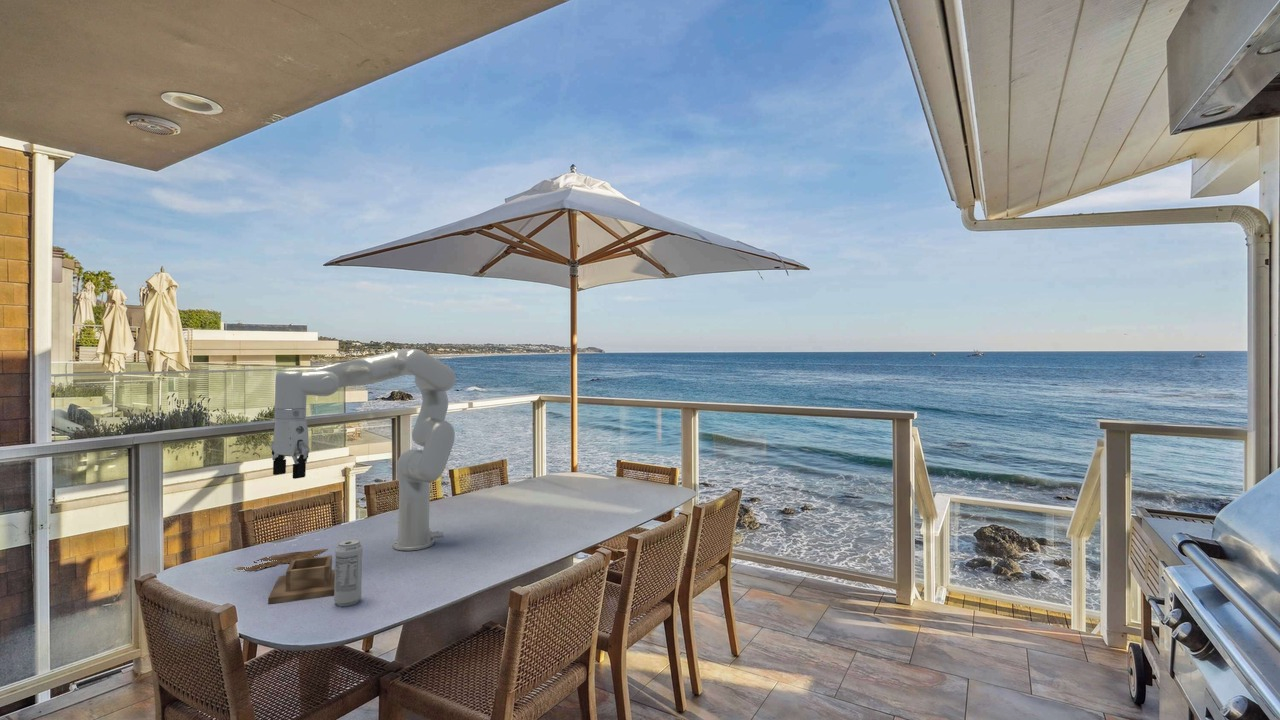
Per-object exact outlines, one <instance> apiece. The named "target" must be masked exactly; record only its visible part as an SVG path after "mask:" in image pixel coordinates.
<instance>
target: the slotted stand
mask: <svg viewBox="0 0 1280 720" xmlns="http://www.w3.org/2000/svg"><path fill="white" fill-rule="evenodd" d="M332 565H333V555H322V556H315V557H313V558H304V559H295V560H291V562H290V563H288V566H287V569H286V571H285V575H279V576H278V577H277V579H276V582H275V584H274V586H273V587H272V590H271V592H270V594H269V596H268V597H267V599H268V601H267V603H268V605H271V604H279V603H286V602H294V601H293V600H295V601H300V600H299V599H302V600H307V599H308V600H309V599H316V598H323V597H329V596H330V597H331V596H334V588H335V568H334V569H332V567H333V566H332Z"/></svg>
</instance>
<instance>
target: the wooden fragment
mask: <svg viewBox="0 0 1280 720" xmlns="http://www.w3.org/2000/svg"><path fill="white" fill-rule="evenodd" d="M328 549H329V548H321V549H313V550H306V551H295V552H287V553H280V554H274V555H271V556H264V557H262V558H260V559H257V560H254V561H253V562H254V563H257V562H255V561H259V560H261V562H262V560H263V561H268V560H269V561H271V562H267V563H264V564H263V563H262V564H259V565H255V566H252V567H250V568H249V567H248V568H247V567H246V569H245V567H241V566H237V567H234V568H233V569H237V570H243V569H244V570H245V571H250V572H251V571H255V572H257V571H256V570H258V569H259V571H260V570H263V569H266V568H265V567H268V568H273V567H276V566H279V565H278V564H282V565H285V563H288V564H290V562H291V560H295V559H304V558H313V557H314V556H315V557H318V554H319V555H320V554H321V553H324V552H327V551H329V550H328ZM326 550H327V551H326ZM267 557H269V558H267ZM270 558H271V559H270ZM272 560H273V561H272ZM274 560H275V561H274ZM276 560H277V561H276ZM272 566H273V567H272ZM260 567H261V568H260ZM245 571H244V572H245Z"/></svg>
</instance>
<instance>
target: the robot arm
mask: <svg viewBox="0 0 1280 720" xmlns="http://www.w3.org/2000/svg"><path fill="white" fill-rule="evenodd" d="M407 375H408V376H414V382H415V384H416V386H417V388H418V389H419V391H420V395H421V399H422V403H421V407H420V409H419V413H418V415H417V418H416V422H415V424H414V427H413V429H412V432H411V439H412V441H413V442H414V443H415V444H416V445H418V446H420V447H423V449H418V448H417V449H414V448H413V449H408V450H406V451H404V452H402V453H401V454H400V456H399V457H398V460H397V462H396V472H397V479H398V523H397V524H398V525H397V527H398V528H397V529H398V530H397V531H398V532H397V533H398V535H397V540H395V541H394V542H393V543H392V549H395V550H397V551H403V552H404V551H405V552H406V551H418V550H423V549H427V548H430V547H431V546H433V545H434V541H435V540H434V539H436V538H437V539H441V538H442V539H443V538H444V533H445V532H444V531H440V530H434V531H432V530H431V529H430V506H431V505H430V501H431V500H430V497H431V488H430V483H433V482H435V481H437V480H438V479H439V478H440V477H441V476H442V474H443V473H444V471H445V470H446V469H445V468H446V466H447V465H448V464H447V463H448V460H449V457H450V455H451V452H452V448H453V445H454V443H455V439H456V438H455V428H454V426H453V425H452V424H451V423H450V422H449V421H446V420H445V419H446V416H447V413H448V409H449V397H448V394H447V391H450V390H451V389H453V387H454V386H455V385H456V382H457V381H456V380H457V379H456V373H455V372H454V370H453V369H452V368H451V367H450V366H449V365H447V364H445V363H443V362H442V361H440V360H439V359H437V358H435V357H433V356H431V355H430V354H428V353H427V352H425V351H423V350H420V349H418V348H403V349H402V348H401V349H395V350H392V351H387V352H384V353H380V354H379V353H378V354H374V355H370V356H366V357H361V358H357V359H352V360H348V361H345V362H339V363H334V364H330V365H326V366H321V367H317V368H312V369H309V370H306V371H301V370H280V371H278V372H276V374H275V381H274V382H275V387H274V388H275V389H274V390H275V391H274V422H275V424H274V429H273V440H272V441H273V442H272V443H271V444H270V447H271V455H272V458H271V459H272V461H273V462H272V463H273V464H272V475H274V476H278V475H286V473H287V470H286V469H287V459H286V457H291V458H292V460H293V463H292V479H293V480H295V479H301V478H306V470H307V469H306V468H307V467H306V466H307V462H308V459H309V453H310V451H311V449H310V446H309V443H310V439H309V428H308V421H307V400H308V399H307V396H314V397H315V396H316V397H329V396H332V395H333V394H335V393H337V392H338V390H339V388H345V387H353V386H354V387H355V386H368V385H374V384H377V383H380V382H384V381H387V380H390V379H395V378H398V377H403V376H407Z"/></svg>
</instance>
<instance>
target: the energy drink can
mask: <svg viewBox="0 0 1280 720" xmlns="http://www.w3.org/2000/svg"><path fill="white" fill-rule="evenodd" d="M337 544H338V545H337V547H336V548H335V552H334V553H335V555H334V559H335V560H334V569H335V588H334V595H333V598H334V599H333V602H334V603H336V605H337V606H338V607H349V606H353V605H356V604H357V603H358V602H360V601H359V600H360V599H361V597H362V578H363V545H362V544H361V541H360V539H356V538H355V539H354V538H352V539H344V540H340V541H339V542H338V543H337Z"/></svg>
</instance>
